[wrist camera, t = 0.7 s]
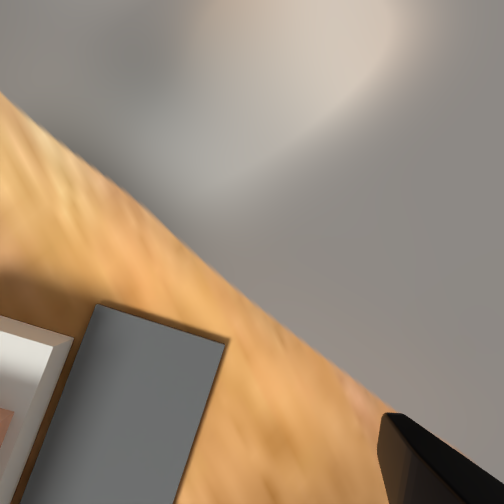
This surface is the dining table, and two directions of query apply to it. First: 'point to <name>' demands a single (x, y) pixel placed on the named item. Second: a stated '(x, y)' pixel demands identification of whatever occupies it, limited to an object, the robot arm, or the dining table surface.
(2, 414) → the pink rectangular block
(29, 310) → the dining table surface
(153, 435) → the mat
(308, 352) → the dining table surface
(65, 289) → the dining table surface
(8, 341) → the block
